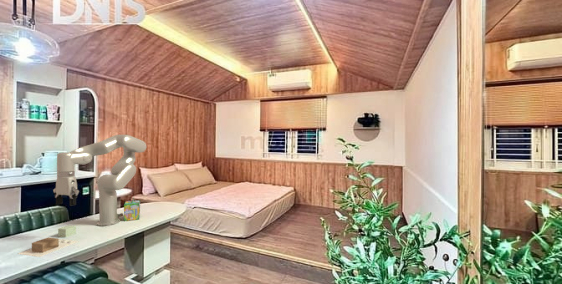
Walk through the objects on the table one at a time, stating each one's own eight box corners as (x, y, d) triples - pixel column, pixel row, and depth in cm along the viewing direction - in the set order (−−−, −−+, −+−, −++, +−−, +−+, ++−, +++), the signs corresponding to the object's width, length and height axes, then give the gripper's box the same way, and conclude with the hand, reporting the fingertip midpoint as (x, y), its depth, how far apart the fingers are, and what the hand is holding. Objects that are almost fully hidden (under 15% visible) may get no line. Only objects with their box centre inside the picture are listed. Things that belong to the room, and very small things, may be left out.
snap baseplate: (58, 240, 137) (58, 237, 137) (79, 243, 133) (79, 240, 133) (17, 255, 119) (17, 252, 119) (39, 259, 116) (39, 255, 116)
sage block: (68, 234, 145) (68, 225, 145) (76, 235, 144) (76, 226, 144) (58, 238, 140) (58, 228, 140) (65, 239, 138) (65, 229, 138)
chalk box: (125, 217, 176) (125, 196, 175) (140, 215, 180) (140, 195, 179) (123, 221, 167) (123, 199, 167) (139, 219, 171) (139, 198, 171)
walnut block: (48, 245, 129) (48, 237, 128) (58, 246, 127) (58, 238, 127) (31, 251, 122) (31, 243, 122) (42, 252, 120) (42, 244, 120)
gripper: (84, 174, 143) (84, 204, 143) (61, 173, 147) (61, 202, 147) (71, 175, 135) (71, 207, 135) (46, 174, 139) (46, 205, 139)
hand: (66, 204), depth 141 cm, fingers open, 9 cm apart
